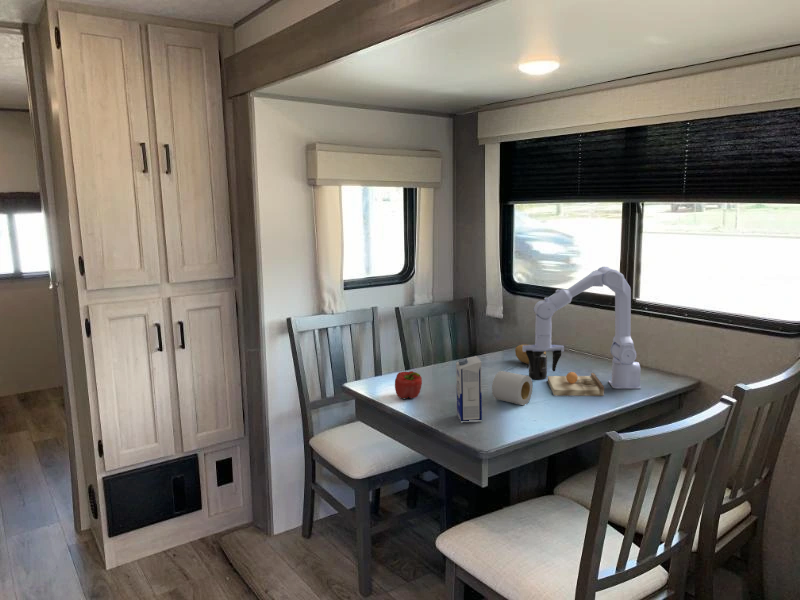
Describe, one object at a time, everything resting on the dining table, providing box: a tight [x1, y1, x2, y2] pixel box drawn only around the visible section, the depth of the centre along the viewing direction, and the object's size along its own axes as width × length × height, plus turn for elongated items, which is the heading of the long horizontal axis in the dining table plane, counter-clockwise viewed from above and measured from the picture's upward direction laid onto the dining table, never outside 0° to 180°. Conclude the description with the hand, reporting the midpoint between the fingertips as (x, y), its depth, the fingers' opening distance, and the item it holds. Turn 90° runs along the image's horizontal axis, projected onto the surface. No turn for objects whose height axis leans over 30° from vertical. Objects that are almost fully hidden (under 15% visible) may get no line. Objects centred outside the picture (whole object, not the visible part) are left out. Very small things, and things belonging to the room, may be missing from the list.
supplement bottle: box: [528, 351, 548, 380], centre depth 227 cm, size 7×7×12 cm
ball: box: [565, 371, 579, 383], centre depth 214 cm, size 4×4×4 cm
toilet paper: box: [491, 370, 534, 406], centre depth 202 cm, size 10×10×10 cm
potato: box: [514, 343, 547, 365], centre depth 245 cm, size 10×14×8 cm
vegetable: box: [394, 371, 423, 399], centre depth 210 cm, size 11×10×10 cm
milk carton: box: [455, 355, 483, 421], centre depth 187 cm, size 7×7×20 cm
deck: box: [547, 372, 605, 397], centre depth 214 cm, size 18×16×3 cm
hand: (542, 370), depth 214 cm, fingers open, 7 cm apart
